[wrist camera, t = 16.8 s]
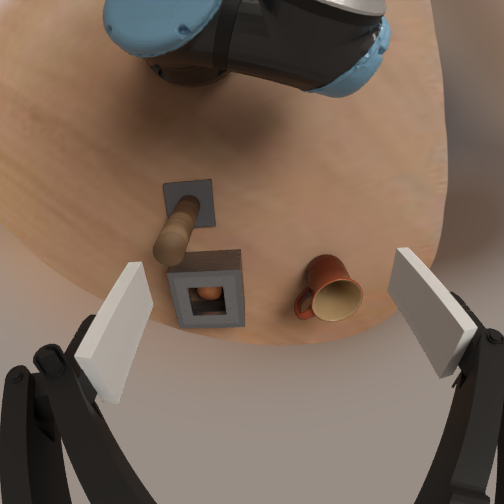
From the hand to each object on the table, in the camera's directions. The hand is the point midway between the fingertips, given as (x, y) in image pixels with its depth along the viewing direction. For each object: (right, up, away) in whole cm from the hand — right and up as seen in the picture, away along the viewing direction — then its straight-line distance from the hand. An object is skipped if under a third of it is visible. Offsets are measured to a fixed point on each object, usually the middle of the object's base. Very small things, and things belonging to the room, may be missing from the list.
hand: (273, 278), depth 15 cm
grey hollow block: (-9, -4, +41) cm, 42 cm away
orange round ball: (-9, -4, +40) cm, 42 cm away
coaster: (-11, +9, +34) cm, 37 cm away
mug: (+11, -3, +41) cm, 43 cm away
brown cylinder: (-11, +9, +33) cm, 37 cm away
